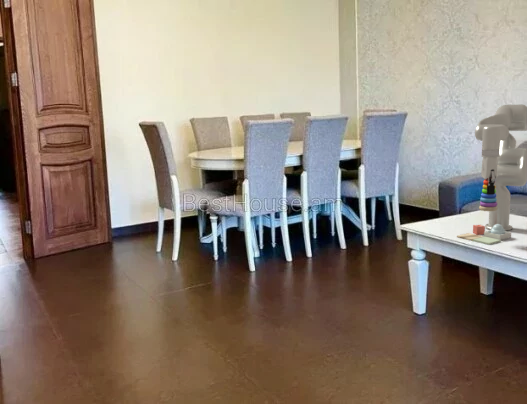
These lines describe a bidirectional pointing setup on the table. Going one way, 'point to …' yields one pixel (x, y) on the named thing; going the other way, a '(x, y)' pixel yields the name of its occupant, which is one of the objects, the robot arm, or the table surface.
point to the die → (478, 229)
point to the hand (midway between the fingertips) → (488, 192)
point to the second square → (486, 240)
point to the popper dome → (498, 229)
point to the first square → (469, 236)
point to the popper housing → (496, 236)
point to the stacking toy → (488, 199)
